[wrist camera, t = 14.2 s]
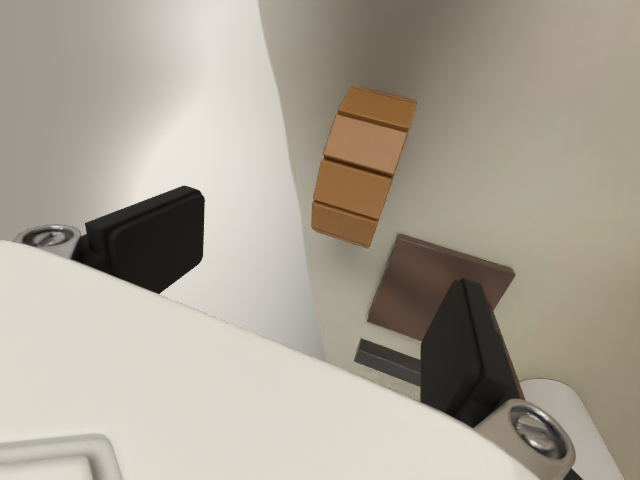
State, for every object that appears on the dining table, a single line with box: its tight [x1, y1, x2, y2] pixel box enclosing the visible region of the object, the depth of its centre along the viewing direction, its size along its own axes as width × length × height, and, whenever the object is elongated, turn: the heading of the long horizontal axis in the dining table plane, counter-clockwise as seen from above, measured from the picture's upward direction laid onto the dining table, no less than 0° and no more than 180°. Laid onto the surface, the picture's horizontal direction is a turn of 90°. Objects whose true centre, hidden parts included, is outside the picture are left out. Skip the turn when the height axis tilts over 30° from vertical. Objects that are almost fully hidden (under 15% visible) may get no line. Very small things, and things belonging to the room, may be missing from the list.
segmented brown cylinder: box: [311, 86, 417, 249], centre depth 26 cm, size 12×5×12 cm, turn 167°
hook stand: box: [354, 234, 526, 401], centre depth 30 cm, size 12×13×13 cm
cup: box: [519, 379, 624, 480], centre depth 32 cm, size 8×8×12 cm
